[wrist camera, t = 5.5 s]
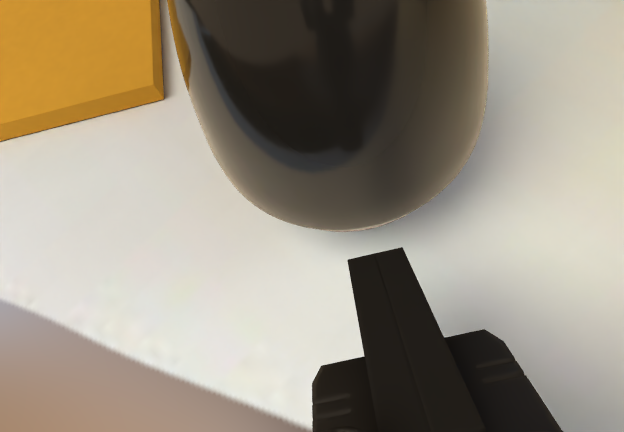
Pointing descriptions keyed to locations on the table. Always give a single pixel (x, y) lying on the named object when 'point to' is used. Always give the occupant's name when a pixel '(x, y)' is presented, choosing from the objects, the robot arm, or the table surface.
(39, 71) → the mustard mat
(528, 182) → the table surface
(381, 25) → the black glossy oval body
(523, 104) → the table surface
